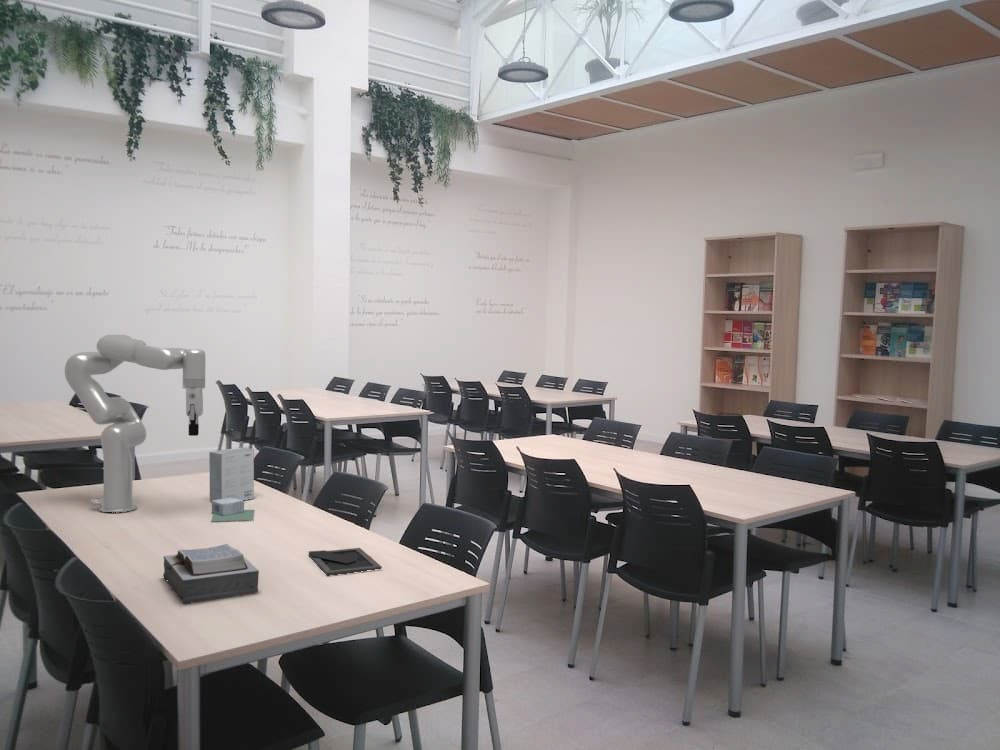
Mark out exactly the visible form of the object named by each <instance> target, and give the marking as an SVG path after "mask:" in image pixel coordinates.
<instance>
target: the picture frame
mask: <svg viewBox="0 0 1000 750" xmlns="http://www.w3.org/2000/svg"><path fill="white" fill-rule="evenodd" d="M308 557H309V559H310V558H311V559H312V560H313V561H314V562H315V563H316V564H317V565H316V564H315V563H314V562H313V561H312V560H311V559H310V560H311V561H312V562H313V563H314V564H315V565H316V567H318V568H319V569H320V571H321V570H322V571H323V572H324V573H325V574H326V575H325V574H324V573H323V572H322V571H321V572H322V573H323V574H324V575H325V576H326V577H331V576H330V575H335V576H339V575H338V574H344V575H348V574H347V573H353V574H355V573H354V572H361V571H367V570H375V569H381V568H383V567H382V565H380V563H378V562H377V561H376V560H374V559H373V558H372V557H371V555H369V554H368V553H367V552H365V551H364V550H363V549H362V548H361V547H355V548H345V549H344V548H343V549H334V550H332V549H331V550H312V551H311V550H310V551H308ZM361 573H362V572H361Z"/></svg>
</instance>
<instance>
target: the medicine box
mask: <svg viewBox="0 0 1000 750" xmlns="http://www.w3.org/2000/svg"><path fill="white" fill-rule="evenodd" d="M244 510H245V501H243V500H239V499H236V498H233V497H231V498H224V499H217V500H212V503H211V512H212V513H213V514H214V513H216V514H219V515H222V516H225V515H230V514H236V513H241V512H244Z"/></svg>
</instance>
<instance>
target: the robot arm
mask: <svg viewBox="0 0 1000 750" xmlns="http://www.w3.org/2000/svg"><path fill="white" fill-rule="evenodd" d="M124 362H128V363H132V364H136V365H138V366H142V367H145V368H150V369H156V370H160V371H161V370H163V371H166V370H167V371H168V370H182V389H185V412H186V413H185V414H186V416H187V417H188V436H190V437H191V436H193V437H195V436H196V437H197V436H199V429H200V428H199V425H200V424H199V417H201V416H203V414H204V405H203V404H204V395H203V393H204V392H203V389H206V351H205V350H203V349H199V348H197V349H196V348H194V349H191V348H190V349H187V348H182V347H166V348H165V347H157V346H151V345H147V343H146V341H143V340H142V339H136V338H132V337H131V336H129V335H125V334H106V335H104V336H102V337H100V338H99V339H98V341H97V343H96V351H82V352H78V353H74V354H73V355H71V356H70V357H69V358H68V359H67V360H66V362H65V365H64V376H65V379H66V381H67V383H68V385H69V387H70V388H71V390H73V392H74V393H75V395H76V396H77V398H78V400H79V401H80V403H81V404H82V406H83V407H84V409H85V411H86V413H87V414H88V416H89V417H90V418H91V420H92V421H93V423H95V424H96V425H101V426H103V425H108V426H107V427H105V428H104V429H103V430H102V432H101V434H100V444H101V448H102V454H103V497H100V498H91V499H90V505H93V506H97V505H99V507H98V511H99V512H100V511H102V512H101V513H104V512H112V513H111V514H120V513H119V512H122V513H128V512H127V511H129V512H131V511H132V510H133V511H135V510H137V508H138V505H137V504H136V503H133V456H132V454H131V452H130V451H131V450H130V449H129V448H132V447H133V448H134V447H136V446H139V445H141V444H143V443H144V442H145V441H146V437H147V429H146V426H145V424H144V423H143V422H142V421H141V419H140V417H139V415H138V413H137V412H136V410H135V409H134V407H133V406H132V404H131V403H130V402H129V401H128V400H127V399H125V398H123V397H121V396H113V397H109V396H108V394H107V393H106V392H105V390H104V389H103V386H102V385H101V384H100V383H99V382H97V381H96V380H95V379H94V378H93V377H92V376H94V375H95V376H96V375H105V374H108V373H110V372H112V371H113V370H114V369H116V368H118V367H119V366H120V365H122V364H123V363H124ZM113 512H114V513H113ZM115 512H116V513H115Z"/></svg>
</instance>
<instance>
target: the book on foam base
mask: <svg viewBox="0 0 1000 750" xmlns="http://www.w3.org/2000/svg"><path fill="white" fill-rule="evenodd" d="M163 569H164V572H163V575H162V577H164V578H163V580H164V579H165V580H164V581H166V580H168V582H169V583H168V582H167V583H168V584H169V585H168V586H171V587H172V588H171V587H170V588H171V590H172V589H173V590H174V591H175V592H176V593H177V594H178V596H177V598H178V597H179V598H180V599H181V600H182V601H181V600H180V599H179V598H178V599H179V600H180V601H181V602H182V604H187V603H188V604H192V603H191V602H195V603H200V601H201V602H206V601H212V600H214V601H215V600H219V599H225V597H226V599H227V598H233V597H238V596H237V595H239V596H244V595H243V594H246V595H249V594H248V593H252V594H256V593H255V592H258V593H259V573H260V571H259V569H258V568H257V567H256V566H255V565H253V564H252V563H251V562H250V561H249V560H248V559H247V557H245V556H244V553H243V552H241V550H239V549H236V548H234V547H232V546H231V545H229V543H225V544H224V543H223V544H220V545H217V546H211V547H206V548H205V547H204V548H196V549H179V550H178V551H177V554H169V555H164V556H163ZM173 590H172V591H173ZM174 591H173V592H174ZM176 593H175V594H176ZM177 594H176V595H177Z"/></svg>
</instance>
